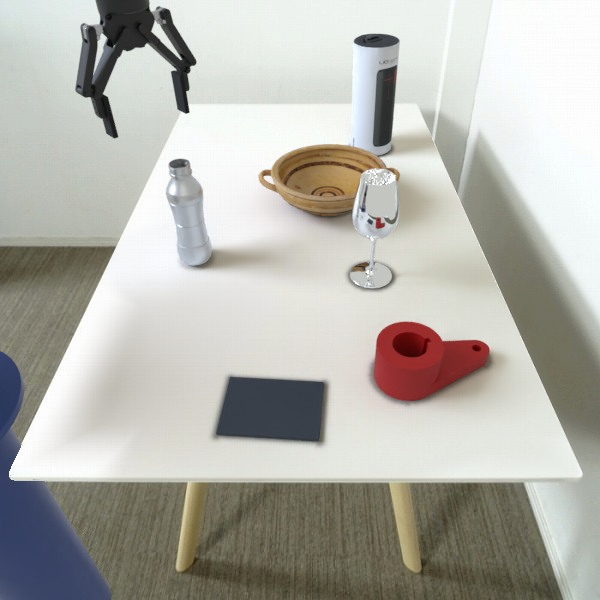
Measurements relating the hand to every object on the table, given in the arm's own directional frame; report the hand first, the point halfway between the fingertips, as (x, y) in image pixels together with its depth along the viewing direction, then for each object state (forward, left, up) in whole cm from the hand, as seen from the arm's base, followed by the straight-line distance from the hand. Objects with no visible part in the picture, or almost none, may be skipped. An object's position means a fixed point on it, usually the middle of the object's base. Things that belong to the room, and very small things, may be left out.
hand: (149, 123), depth 92 cm
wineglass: (+38, -7, -25) cm, 47 cm away
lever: (+47, -29, -25) cm, 61 cm away
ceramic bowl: (+29, +18, -25) cm, 43 cm away
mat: (+24, -38, -25) cm, 52 cm away
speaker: (+38, +45, -25) cm, 64 cm away
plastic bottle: (+5, -4, -25) cm, 26 cm away
